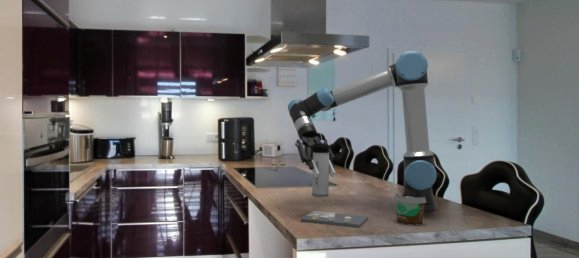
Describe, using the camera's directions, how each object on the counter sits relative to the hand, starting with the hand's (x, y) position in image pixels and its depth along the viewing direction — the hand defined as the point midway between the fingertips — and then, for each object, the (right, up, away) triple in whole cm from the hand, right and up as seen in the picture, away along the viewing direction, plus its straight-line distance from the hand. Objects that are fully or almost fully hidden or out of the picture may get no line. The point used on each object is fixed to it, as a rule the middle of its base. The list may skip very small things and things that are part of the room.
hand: (325, 175), depth 162 cm
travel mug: (-2, -9, +4) cm, 9 cm away
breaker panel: (+4, -17, -1) cm, 17 cm away
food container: (+29, -17, -4) cm, 34 cm away
